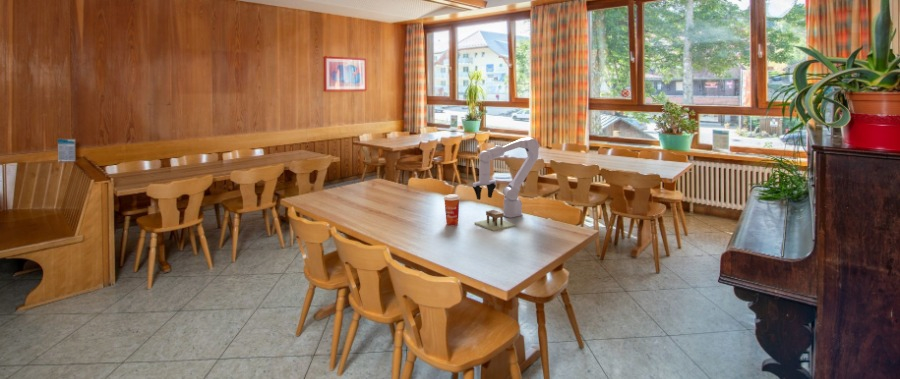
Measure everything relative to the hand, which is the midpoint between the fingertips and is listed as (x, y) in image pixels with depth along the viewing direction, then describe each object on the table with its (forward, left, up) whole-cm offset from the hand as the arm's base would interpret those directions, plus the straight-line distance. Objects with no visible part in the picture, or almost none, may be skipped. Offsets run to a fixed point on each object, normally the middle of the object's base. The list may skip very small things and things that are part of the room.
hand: (484, 198), depth 258 cm
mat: (+5, +15, -10) cm, 19 cm away
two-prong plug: (+5, +15, -10) cm, 19 cm away
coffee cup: (+21, 0, -11) cm, 24 cm away
